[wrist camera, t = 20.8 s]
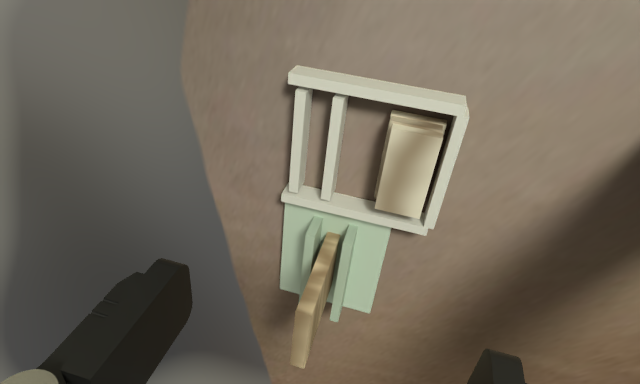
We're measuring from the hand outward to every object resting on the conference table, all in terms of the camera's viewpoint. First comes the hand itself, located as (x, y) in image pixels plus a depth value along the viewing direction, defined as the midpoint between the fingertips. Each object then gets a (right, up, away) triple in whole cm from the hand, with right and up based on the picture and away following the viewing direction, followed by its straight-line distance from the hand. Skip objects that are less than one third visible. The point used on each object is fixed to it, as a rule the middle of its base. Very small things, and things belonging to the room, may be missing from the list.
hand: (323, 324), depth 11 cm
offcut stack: (+9, +7, +30) cm, 32 cm away
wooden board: (+1, -4, +38) cm, 38 cm away
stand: (+1, -4, +39) cm, 39 cm away
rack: (+5, +8, +30) cm, 32 cm away
